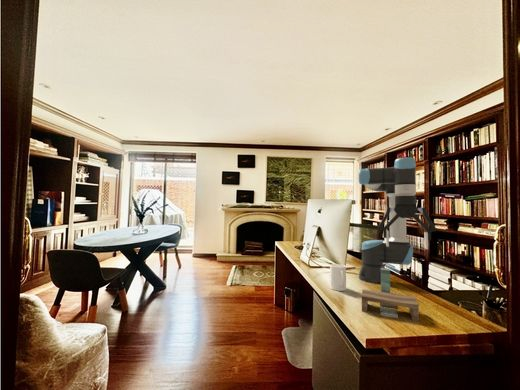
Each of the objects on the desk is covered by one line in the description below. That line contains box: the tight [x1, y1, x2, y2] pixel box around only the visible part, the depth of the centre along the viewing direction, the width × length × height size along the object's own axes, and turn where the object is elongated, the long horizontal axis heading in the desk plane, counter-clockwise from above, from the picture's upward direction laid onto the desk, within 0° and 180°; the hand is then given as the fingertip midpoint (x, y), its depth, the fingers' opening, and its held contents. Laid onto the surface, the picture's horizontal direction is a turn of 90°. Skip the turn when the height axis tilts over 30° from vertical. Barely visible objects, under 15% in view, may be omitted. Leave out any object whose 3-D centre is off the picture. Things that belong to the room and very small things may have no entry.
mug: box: [329, 263, 347, 292], centre depth 127 cm, size 12×8×12 cm
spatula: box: [379, 267, 396, 309], centre depth 114 cm, size 20×6×12 cm, turn 155°
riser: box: [361, 288, 420, 322], centre depth 100 cm, size 10×20×6 cm, turn 65°
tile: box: [379, 306, 399, 319], centre depth 98 cm, size 6×6×2 cm
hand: (406, 247), depth 98 cm, fingers open, 13 cm apart
